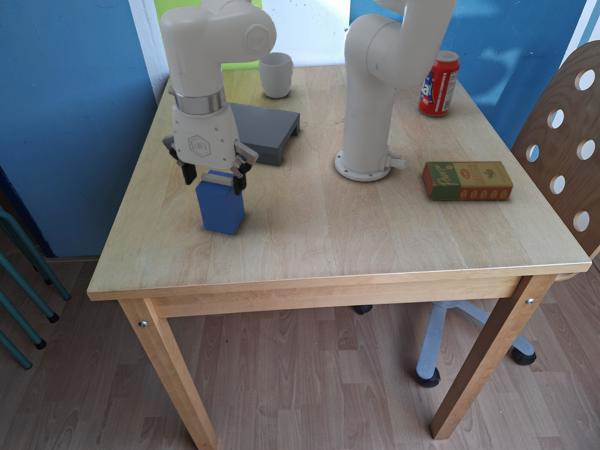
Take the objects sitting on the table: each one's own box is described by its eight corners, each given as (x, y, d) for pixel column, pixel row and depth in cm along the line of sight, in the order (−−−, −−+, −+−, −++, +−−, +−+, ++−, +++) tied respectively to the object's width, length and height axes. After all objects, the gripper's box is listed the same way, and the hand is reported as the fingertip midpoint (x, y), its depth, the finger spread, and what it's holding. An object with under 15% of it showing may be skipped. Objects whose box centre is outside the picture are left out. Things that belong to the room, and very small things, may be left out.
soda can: (447, 120, 109) (462, 63, 99) (416, 116, 111) (427, 60, 100) (448, 106, 115) (462, 50, 104) (418, 102, 116) (429, 47, 106)
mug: (281, 103, 117) (279, 68, 110) (255, 96, 120) (251, 61, 113) (305, 85, 125) (304, 51, 118) (279, 78, 128) (278, 45, 121)
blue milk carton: (245, 214, 85) (239, 170, 77) (233, 235, 80) (225, 190, 73) (218, 209, 86) (209, 164, 78) (204, 228, 82) (193, 184, 74)
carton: (508, 201, 86) (515, 184, 83) (428, 201, 87) (433, 184, 84) (495, 175, 92) (502, 159, 89) (421, 175, 93) (425, 159, 90)
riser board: (300, 130, 107) (299, 112, 103) (278, 166, 96) (277, 148, 92) (213, 117, 112) (210, 99, 109) (184, 149, 101) (180, 131, 98)
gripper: (137, 100, 64) (162, 189, 76) (243, 118, 60) (252, 208, 72) (163, 79, 69) (183, 165, 81) (262, 94, 65) (267, 182, 77)
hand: (215, 185), depth 77 cm, fingers open, 9 cm apart
